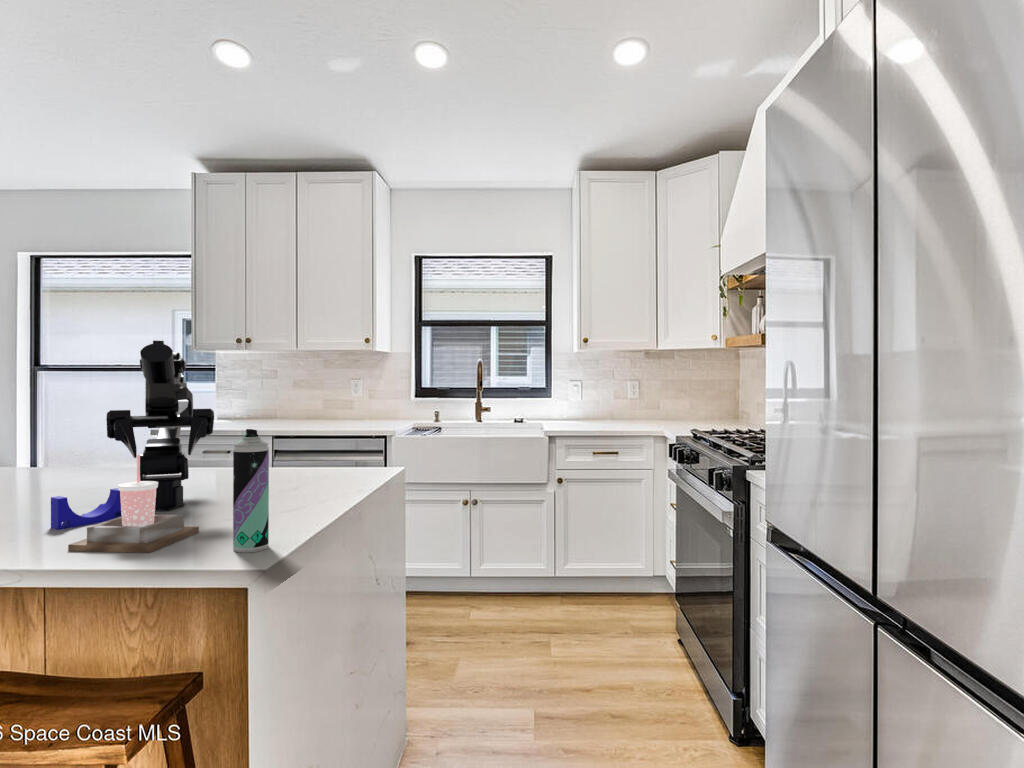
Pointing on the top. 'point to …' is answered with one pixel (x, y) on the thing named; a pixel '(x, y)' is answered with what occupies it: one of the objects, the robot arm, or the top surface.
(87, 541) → the cup holder board
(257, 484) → the spray can
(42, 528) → the top surface
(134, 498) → the beverage cup
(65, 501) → the blue curved cradle bracket
